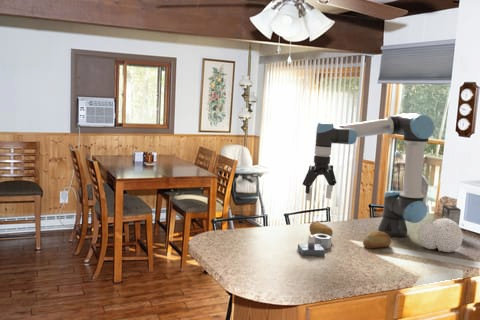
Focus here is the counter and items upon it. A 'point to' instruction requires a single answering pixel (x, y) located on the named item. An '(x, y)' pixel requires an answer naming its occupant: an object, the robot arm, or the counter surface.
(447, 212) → the coffee box
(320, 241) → the hub
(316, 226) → the potato
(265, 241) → the counter surface
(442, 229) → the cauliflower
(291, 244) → the counter surface
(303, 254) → the pillow block
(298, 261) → the counter surface
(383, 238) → the bread roll
